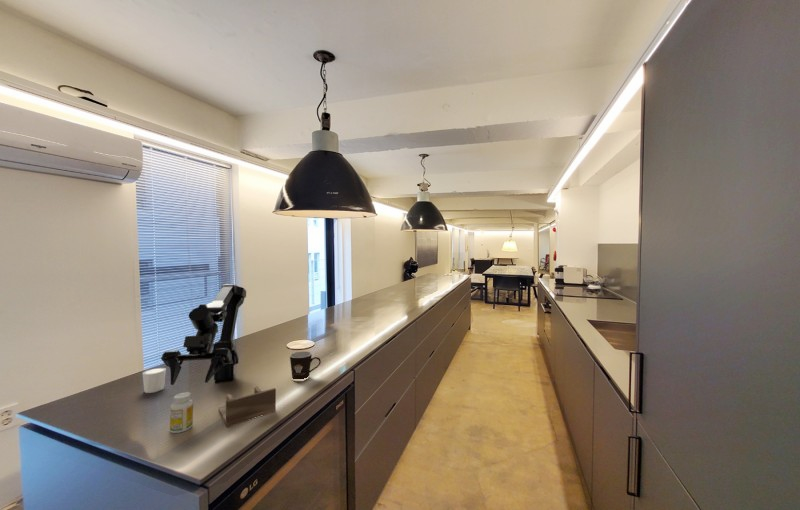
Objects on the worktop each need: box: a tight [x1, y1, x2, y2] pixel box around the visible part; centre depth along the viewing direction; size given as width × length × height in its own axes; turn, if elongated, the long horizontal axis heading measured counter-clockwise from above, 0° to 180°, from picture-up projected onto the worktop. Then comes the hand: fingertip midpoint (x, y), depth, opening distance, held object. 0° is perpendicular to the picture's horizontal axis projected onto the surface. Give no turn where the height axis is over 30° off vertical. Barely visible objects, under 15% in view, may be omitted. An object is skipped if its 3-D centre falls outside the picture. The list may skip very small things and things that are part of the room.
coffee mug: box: [289, 350, 322, 379], centre depth 123 cm, size 12×9×10 cm
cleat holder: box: [217, 386, 277, 428], centre depth 97 cm, size 12×14×7 cm
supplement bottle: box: [169, 391, 194, 434], centre depth 87 cm, size 5×5×10 cm
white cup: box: [142, 367, 167, 394], centre depth 112 cm, size 7×7×7 cm
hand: (189, 383), depth 91 cm, fingers open, 9 cm apart
